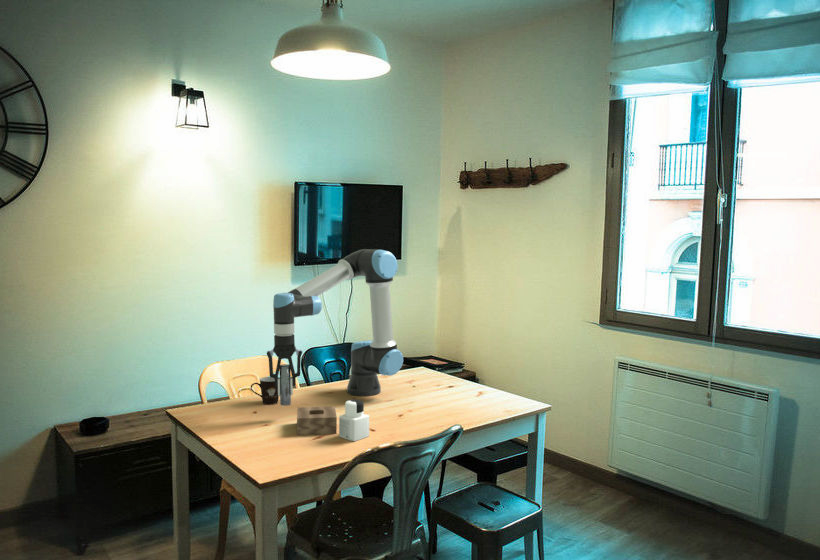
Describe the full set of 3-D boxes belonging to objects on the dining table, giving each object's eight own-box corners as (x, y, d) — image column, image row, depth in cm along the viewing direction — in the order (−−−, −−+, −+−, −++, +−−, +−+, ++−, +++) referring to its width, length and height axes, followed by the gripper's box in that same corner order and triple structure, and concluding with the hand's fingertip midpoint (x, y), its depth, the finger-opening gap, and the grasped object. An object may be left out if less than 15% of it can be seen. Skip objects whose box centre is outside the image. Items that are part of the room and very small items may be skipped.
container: (353, 431, 231) (354, 396, 230) (369, 436, 227) (369, 400, 226) (338, 437, 226) (338, 401, 224) (354, 441, 221) (354, 405, 220)
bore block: (334, 421, 243) (334, 406, 242) (336, 433, 229) (336, 417, 228) (297, 423, 240) (297, 407, 240) (296, 435, 227) (297, 418, 226)
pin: (291, 402, 246) (290, 364, 244) (290, 405, 242) (290, 366, 240) (280, 402, 245) (279, 364, 244) (280, 405, 241) (279, 366, 240)
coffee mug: (283, 400, 272) (283, 377, 271) (277, 405, 263) (277, 381, 262) (256, 398, 273) (256, 375, 272) (249, 404, 264) (249, 380, 263)
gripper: (307, 331, 246) (308, 391, 248) (261, 333, 243) (263, 393, 245) (307, 335, 239) (308, 396, 241) (260, 336, 236) (261, 398, 238)
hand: (285, 394), depth 243 cm, fingers closed on pin, 4 cm apart
